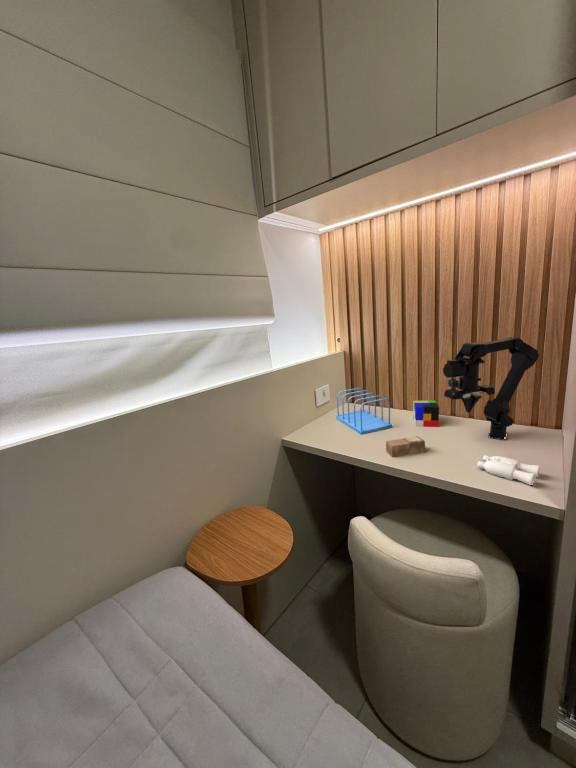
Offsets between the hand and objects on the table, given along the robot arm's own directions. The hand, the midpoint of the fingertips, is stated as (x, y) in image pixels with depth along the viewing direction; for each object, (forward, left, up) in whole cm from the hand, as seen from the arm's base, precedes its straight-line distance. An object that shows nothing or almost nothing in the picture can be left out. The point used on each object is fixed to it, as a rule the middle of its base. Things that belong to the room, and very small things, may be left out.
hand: (468, 412), depth 131 cm
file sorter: (-3, -47, -13) cm, 49 cm away
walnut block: (+15, -14, -11) cm, 24 cm away
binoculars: (+21, +15, -14) cm, 29 cm away
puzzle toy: (-15, -20, -13) cm, 28 cm away
